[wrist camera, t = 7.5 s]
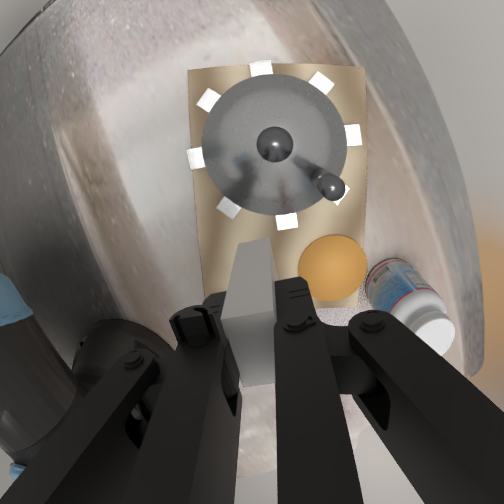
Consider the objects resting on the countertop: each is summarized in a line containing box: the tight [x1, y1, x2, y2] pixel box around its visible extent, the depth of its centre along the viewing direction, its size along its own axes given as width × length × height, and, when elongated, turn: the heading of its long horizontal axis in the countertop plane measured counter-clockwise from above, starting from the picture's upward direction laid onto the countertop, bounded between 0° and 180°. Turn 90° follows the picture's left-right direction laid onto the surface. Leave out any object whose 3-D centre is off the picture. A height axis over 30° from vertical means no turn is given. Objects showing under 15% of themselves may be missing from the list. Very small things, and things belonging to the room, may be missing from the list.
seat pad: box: [298, 235, 367, 301], centre depth 30 cm, size 7×7×1 cm
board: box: [188, 64, 367, 308], centre depth 29 cm, size 16×24×1 cm, turn 2°
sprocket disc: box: [187, 60, 362, 230], centre depth 23 cm, size 15×15×6 cm
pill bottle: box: [366, 259, 455, 356], centre depth 27 cm, size 6×6×11 cm
